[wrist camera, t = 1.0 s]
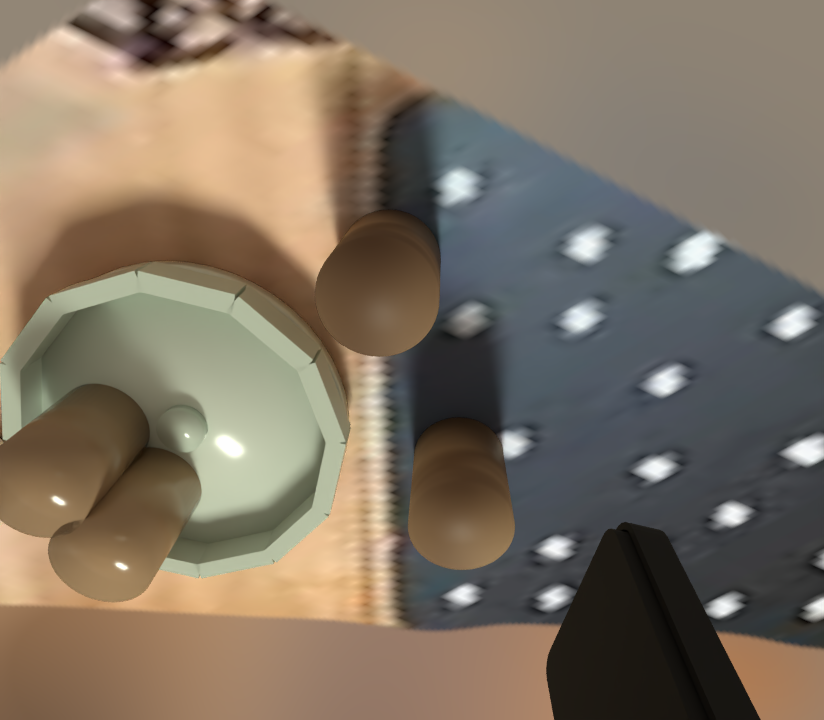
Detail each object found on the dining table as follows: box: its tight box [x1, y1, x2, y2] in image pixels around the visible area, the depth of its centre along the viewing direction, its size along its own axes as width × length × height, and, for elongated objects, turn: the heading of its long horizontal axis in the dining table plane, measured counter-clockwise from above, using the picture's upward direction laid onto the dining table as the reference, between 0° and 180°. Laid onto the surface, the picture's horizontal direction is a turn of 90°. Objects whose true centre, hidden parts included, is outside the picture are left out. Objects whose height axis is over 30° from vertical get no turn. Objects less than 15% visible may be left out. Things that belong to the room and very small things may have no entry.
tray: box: [0, 261, 351, 602], centre depth 24 cm, size 14×14×6 cm
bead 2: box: [408, 417, 515, 570], centre depth 25 cm, size 4×4×5 cm
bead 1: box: [315, 209, 441, 357], centre depth 22 cm, size 4×4×5 cm
